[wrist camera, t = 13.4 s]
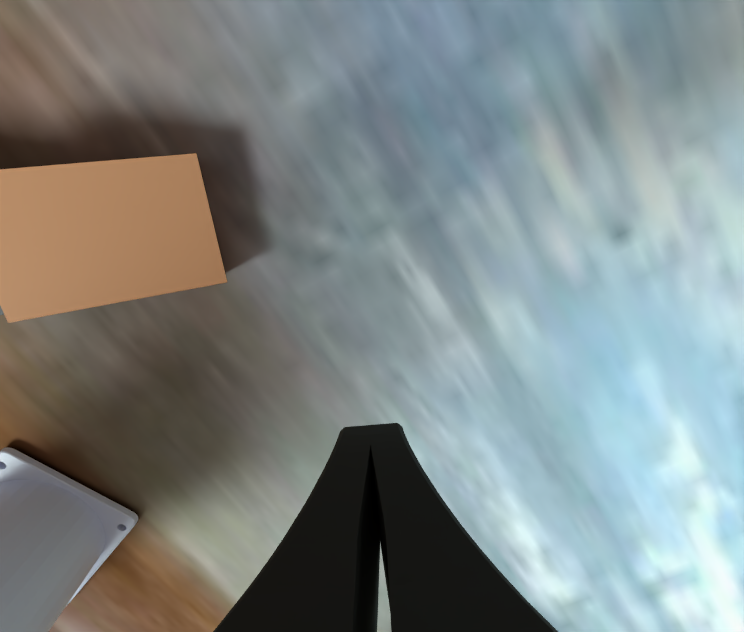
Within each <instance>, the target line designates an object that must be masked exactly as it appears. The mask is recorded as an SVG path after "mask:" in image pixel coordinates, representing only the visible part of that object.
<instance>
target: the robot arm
mask: <svg viewBox="0 0 744 632" xmlns="http://www.w3.org/2000/svg"><path fill="white" fill-rule="evenodd" d="M137 521H138V516H137V514H136V513H134V512H133V511H131V510H129V509H127V508H125V507H123V506H121V505H119V504H118V503H116V502H114V501H112V500H110V499H108V498H106V497H104V496H102V495H101V494H99V493H97V492H95V491H93V490H91V489H89V488H87V487H85V486H84V485H82V484H80V483H78V482H76V481H74V480H72V479H70V478H68V477H67V476H65V475H63V474H61V473H59V472H57V471H55V470H53V469H51V468H50V467H48V466H46V465H44V464H42V463H40V462H38V461H36V460H34V459H33V458H31V457H29V456H27V455H25V454H23V453H21V452H19V451H17V450H16V449H13V448H8V447H6V448H3V449H2V450H1V451H0V632H49V630H50V629H51V627H52V626H53V624H54V623H55V621H56V620H57V618H58V617H59V616H60V614H61V613H62V611H63V610H64V608H65V607H66V606H67V605H68V604H69V603H70V602H71V600H72V599H73V598H74V597H75V596H76V594H77V593H78V592H79V591H80V590H81V589H82V587H83V586H84V585H85V584H86V583H87V581H88V580H89V579H90V578H91V577H92V576H93V574H94V573H95V572H96V571H97V570H98V568H99V567H100V566H101V565H102V564H103V563H104V561H105V560H106V559H107V558H108V557H109V555H110V554H111V553H112V552H113V551H114V550H115V548H116V547H117V546H118V545H119V544H120V542H121V541H122V540H123V539H124V538H125V537H126V535H127V534H128V533H129V532H130V531H131V529H132V528H133V527H134V526H135V524H136V523H137ZM380 542H381V549H382V556H383V563H384V570H385V577H386V584H387V591H388V598H389V605H390V612H391V629H392V632H558V631H557V630H556V629H555V628H554V627H553V626H552V625H551V624H550V623H549V622H548V621H547V620H546V619H545V618H544V617H543V616H542V615H541V614H540V613H539V612H538V611H537V610H536V609H535V608H534V607H533V606H532V605H531V604H530V603H529V602H528V601H527V600H526V599H525V598H524V597H523V596H522V595H521V594H520V593H519V592H518V591H517V590H516V589H515V587H514V586H513V585H512V584H511V583H510V582H509V581H508V580H507V579H506V578H505V577H504V575H503V574H502V573H501V572H500V571H499V570H498V569H497V568H496V566H495V565H494V564H493V563H492V562H491V561H490V559H489V558H488V557H487V556H486V555H485V554H484V552H483V551H482V550H481V549H480V548H479V547H478V545H477V544H476V543H475V542H474V540H473V539H472V538H471V537H470V535H469V534H468V533H467V532H466V530H465V529H464V528H463V527H462V525H461V524H460V523H459V521H458V520H457V518H456V517H455V516H454V514H453V513H452V512H451V510H450V509H449V508H448V506H447V505H446V503H445V502H444V501H443V499H442V498H441V496H440V495H439V493H438V492H437V490H436V489H435V487H434V486H433V484H432V483H431V481H430V480H429V478H428V476H427V475H426V473H425V472H424V470H423V468H422V467H421V465H420V463H419V462H418V460H417V458H416V456H415V454H414V453H413V451H412V449H411V447H410V445H409V443H408V441H407V438H406V436H405V434H404V431H403V428H402V426H400V425H399V424H398V423H391V424H379V425H366V426H354V427H344V428H343V429H342V430H341V431H340V434H339V436H338V439H337V442H336V444H335V447H334V449H333V451H332V453H331V455H330V458H329V460H328V462H327V464H326V466H325V468H324V470H323V472H322V474H321V476H320V477H319V479H318V481H317V483H316V485H315V487H314V489H313V490H312V492H311V494H310V496H309V498H308V499H307V501H306V503H305V505H304V506H303V508H302V509H301V511H300V513H299V514H298V516H297V518H296V519H295V521H294V522H293V524H292V526H291V527H290V529H289V530H288V532H287V534H286V535H285V537H284V538H283V540H282V541H281V543H280V544H279V546H278V547H277V549H276V550H275V552H274V553H273V555H272V556H271V557H270V559H269V560H268V562H267V563H266V565H265V566H264V567H263V569H262V570H261V571H260V573H259V574H258V575H257V577H256V578H255V580H254V581H253V582H252V584H251V585H250V586H249V588H248V589H247V590H246V591H245V593H244V594H243V595H242V596H241V598H240V599H239V600H238V601H237V603H236V604H235V605H234V607H233V608H232V609H231V610H230V612H229V613H228V614H227V615H226V617H225V618H224V619H223V620H222V622H221V623H220V624H219V625H218V627H217V628H216V629H215V630H214V631H213V632H377V615H378V587H379V559H380Z"/></svg>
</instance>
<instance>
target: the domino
mask: <svg viewBox="0 0 744 632" xmlns="http://www.w3.org/2000/svg"><path fill="white" fill-rule="evenodd" d="M226 282H227V279H226V274H225V270H224V266H223V262H222V258H221V254H220V249H219V245H218V241H217V237H216V233H215V229H214V224H213V220H212V216H211V212H210V208H209V203H208V199H207V195H206V191H205V187H204V183H203V178H202V174H201V170H200V166H199V162H198V158H197V154H196V153H194V154H182V155H170V156H157V157H145V158H133V159H121V160H109V161H96V162H84V163H72V164H60V165H48V166H35V167H23V168H11V169H0V306H1V308H2V310H3V313H4V315H5V317H6V319H7V321H8V323H10V322H16V321H21V320H26V319H32V318H37V317H43V316H48V315H53V314H59V313H64V312H70V311H75V310H80V309H86V308H91V307H97V306H102V305H107V304H113V303H118V302H124V301H129V300H134V299H140V298H145V297H151V296H156V295H161V294H167V293H172V292H178V291H183V290H188V289H194V288H199V287H205V286H210V285H215V284H221V283H226Z"/></svg>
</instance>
